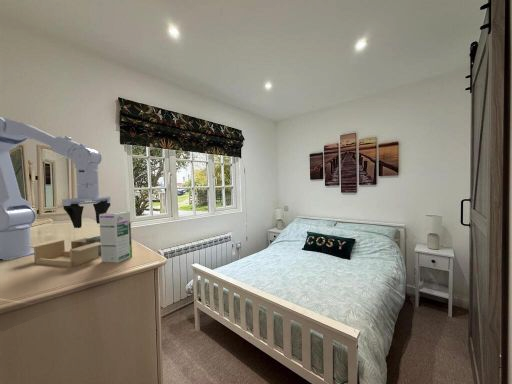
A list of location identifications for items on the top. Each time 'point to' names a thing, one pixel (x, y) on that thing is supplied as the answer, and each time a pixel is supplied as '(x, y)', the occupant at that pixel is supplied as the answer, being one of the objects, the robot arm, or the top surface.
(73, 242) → the box
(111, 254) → the syrup box
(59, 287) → the top surface
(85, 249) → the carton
